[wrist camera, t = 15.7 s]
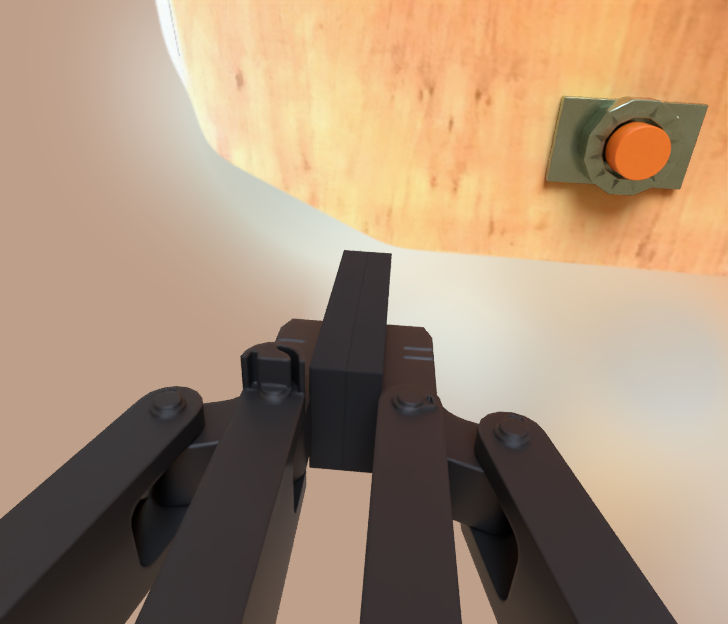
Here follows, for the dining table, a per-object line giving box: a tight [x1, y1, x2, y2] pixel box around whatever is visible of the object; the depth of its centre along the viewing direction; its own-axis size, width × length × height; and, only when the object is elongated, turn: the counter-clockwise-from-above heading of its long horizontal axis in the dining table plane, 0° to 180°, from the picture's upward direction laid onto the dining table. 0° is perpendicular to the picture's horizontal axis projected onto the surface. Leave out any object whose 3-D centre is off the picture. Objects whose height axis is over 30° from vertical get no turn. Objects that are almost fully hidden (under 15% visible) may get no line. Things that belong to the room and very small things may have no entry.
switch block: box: [545, 96, 708, 195], centre depth 38 cm, size 10×6×2 cm, turn 87°
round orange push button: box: [605, 122, 671, 180], centre depth 36 cm, size 4×4×2 cm
